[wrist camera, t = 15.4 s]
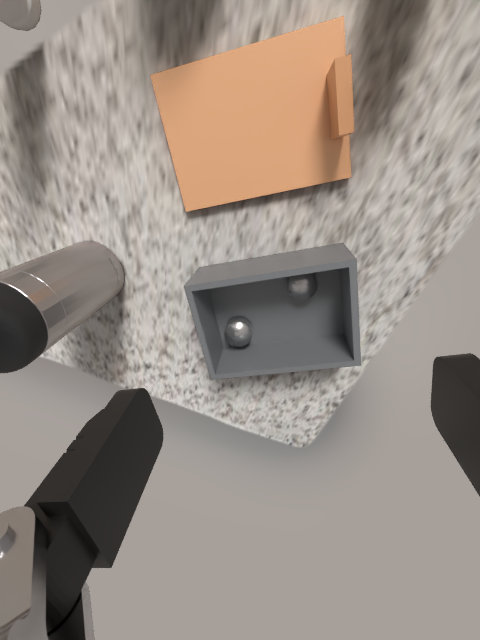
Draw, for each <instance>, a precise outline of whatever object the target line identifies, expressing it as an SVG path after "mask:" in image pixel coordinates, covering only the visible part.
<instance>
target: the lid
mask: <svg viewBox="0 0 480 640" xmlns="http://www.w3.org/2000/svg"><path fill="white" fill-rule="evenodd" d="M150 76H151V80H152V84H153V88H154V91H155V95H156V99H157V103H158V107H159V111H160V114H161V118H162V122H163V126H164V130H165V134H166V137H167V141H168V145H169V149H170V153H171V156H172V160H173V164H174V168H175V172H176V176H177V179H178V183H179V187H180V191H181V195H182V198H183V202H184V206H185V210H186V212H187V211H192V210H197V209H202V208H206V207H211V206H216V205H221V204H226V203H230V202H235V201H240V200H245V199H250V198H254V197H259V196H264V195H269V194H274V193H278V192H283V191H288V190H293V189H298V188H303V187H307V186H312V185H317V184H322V183H327V182H331V181H336V180H341V179H346V178H351V161H350V139H349V134H351V133H353V132H354V113H353V88H352V63H351V54H350V55H346V52H345V31H344V16H342V17H339V18H335V19H332V20H329V21H326V22H322V23H319V24H316V25H312V26H309V27H306V28H303V29H299V30H296V31H293V32H289V33H286V34H283V35H280V36H276V37H273V38H270V39H266V40H263V41H260V42H257V43H253V44H250V45H247V46H244V47H240V48H237V49H234V50H230V51H227V52H224V53H221V54H217V55H214V56H211V57H207V58H204V59H201V60H198V61H194V62H191V63H188V64H184V65H181V66H178V67H175V68H171V69H168V70H165V71H162V72H158V73H155V74H152V75H150Z"/></svg>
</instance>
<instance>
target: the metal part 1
mask: <svg viewBox="0 0 480 640" xmlns="http://www.w3.org/2000/svg"><path fill="white" fill-rule="evenodd" d="M251 335H252V323H251V322H250V320H249V319H248V318H246V317H244V316H234V317H232V318H230V319H229V320H228V322H227V325H226V328H225V331H224V337H225V339H226V341H227V342H228V343H229V344H231V345H232V346H236V347H241V346H244V345H246V344H248V343H249V341H250V340H251Z"/></svg>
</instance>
